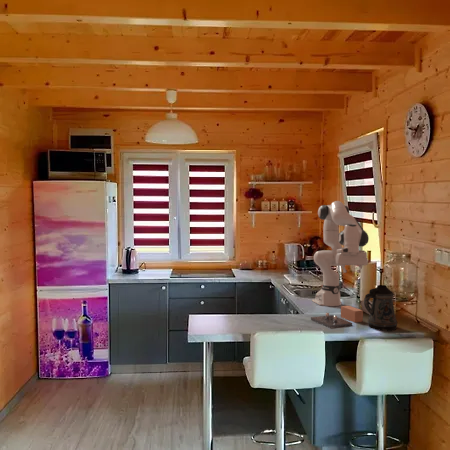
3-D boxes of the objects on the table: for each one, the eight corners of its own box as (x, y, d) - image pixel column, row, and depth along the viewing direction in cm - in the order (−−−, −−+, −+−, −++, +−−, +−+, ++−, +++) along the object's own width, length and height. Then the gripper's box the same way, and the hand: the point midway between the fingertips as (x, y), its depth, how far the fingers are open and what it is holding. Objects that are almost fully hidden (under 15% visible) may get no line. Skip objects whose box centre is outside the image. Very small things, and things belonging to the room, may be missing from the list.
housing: (340, 317, 300) (341, 306, 299) (348, 316, 302) (348, 305, 302) (354, 322, 287) (355, 311, 287) (362, 321, 289) (363, 310, 289)
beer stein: (402, 327, 276) (403, 286, 275) (385, 333, 263) (386, 290, 262) (376, 322, 289) (378, 282, 287) (359, 327, 276) (360, 285, 274)
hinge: (380, 316, 302) (376, 302, 302) (374, 319, 302) (369, 304, 301) (369, 310, 319) (365, 296, 318) (363, 312, 319) (358, 299, 318)
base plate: (310, 319, 292) (311, 311, 292) (332, 317, 298) (332, 309, 298) (330, 328, 274) (330, 319, 273) (352, 325, 280) (352, 317, 280)
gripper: (364, 250, 293) (364, 272, 291) (334, 250, 288) (334, 272, 287) (369, 250, 287) (370, 272, 285) (339, 249, 282) (339, 272, 280)
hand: (352, 272), depth 286 cm, fingers open, 8 cm apart
